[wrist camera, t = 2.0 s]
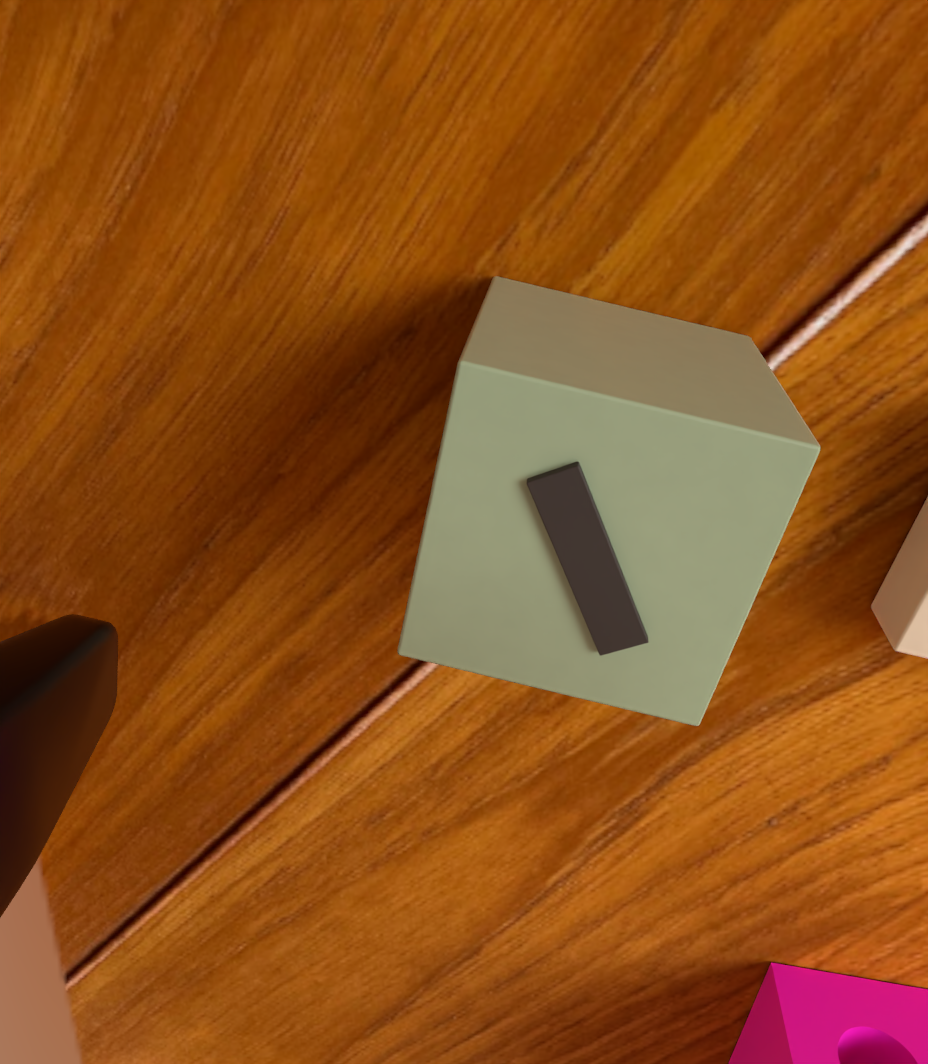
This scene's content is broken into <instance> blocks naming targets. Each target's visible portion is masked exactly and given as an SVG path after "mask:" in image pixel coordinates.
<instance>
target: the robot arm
mask: <svg viewBox="0 0 928 1064" xmlns="http://www.w3.org/2000/svg"><path fill="white" fill-rule="evenodd" d="M117 666H118V635H117V631H116V628H115V627H114V626H113V625H112V624H111V623H109V622H106V621H102V620H98V619H93V618H89V617H85V616H81V615H74V614H71V615H66V616H63V617H60V618H58V619H55V620H53V621H50V622H48V623H46V624H43V625H41V626H38V627H36V628H33V629H31V630H28V631H26V632H24V633H21V634H19V635H16V636H14V637H11V638H9V639H6V640H4V641H1V642H0V917H1V916H2V914H3V913H4V911H5V910H6V908H7V907H8V905H9V903H10V902H11V901H12V899H13V898H14V896H15V894H16V893H17V892H18V890H19V888H20V887H21V885H22V884H23V882H24V880H25V879H26V877H27V876H28V874H29V872H30V871H31V869H32V868H33V866H34V864H35V863H36V861H37V859H38V857H39V855H40V853H41V852H42V850H43V848H44V846H45V844H46V842H47V840H48V839H49V837H50V835H51V833H52V831H53V829H54V827H55V825H56V823H57V821H58V819H59V817H60V815H61V813H62V811H63V809H64V807H65V805H66V803H67V801H68V800H69V798H70V796H71V794H72V792H73V790H74V788H75V786H76V784H77V782H78V780H79V778H80V776H81V774H82V772H83V770H84V768H85V766H86V764H87V762H88V760H89V758H90V757H91V755H92V753H93V751H94V749H95V747H96V745H97V743H98V741H99V739H100V737H101V735H102V733H103V731H104V729H105V727H106V725H107V723H108V721H109V719H110V717H111V715H112V712H113V709H114V706H115V702H116V696H117Z"/></svg>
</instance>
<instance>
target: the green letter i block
mask: <svg viewBox="0 0 928 1064" xmlns="http://www.w3.org/2000/svg"><path fill="white" fill-rule="evenodd" d="M819 452H820V445H819V443H818V442H817V440H816V439H815V437H814V436H813V434H812V432H811V431H810V429H809V428H808V426H807V425H806V423H805V422H804V420H803V418H802V417H801V415H800V414H799V412H798V411H797V409H796V408H795V406H794V404H793V403H792V401H791V400H790V398H789V397H788V395H787V394H786V392H785V391H784V389H783V387H782V386H781V384H780V383H779V381H778V380H777V378H776V377H775V375H774V373H773V372H772V370H771V369H770V367H769V366H768V364H767V363H766V361H765V359H764V358H763V356H762V355H761V353H760V352H759V350H758V349H757V347H756V345H755V344H754V342H753V341H752V339H751V338H750V337H749V336H746V335H742V334H737V333H733V332H729V331H725V330H721V329H716V328H712V327H708V326H704V325H699V324H695V323H691V322H687V321H683V320H678V319H674V318H670V317H666V316H662V315H657V314H653V313H649V312H645V311H641V310H636V309H632V308H628V307H624V306H620V305H615V304H611V303H607V302H603V301H598V300H594V299H590V298H586V297H582V296H577V295H573V294H569V293H565V292H561V291H556V290H552V289H548V288H544V287H540V286H535V285H531V284H527V283H523V282H518V281H514V280H510V279H506V278H502V277H497V276H495V277H493V279H492V281H491V284H490V286H489V289H488V291H487V293H486V296H485V298H484V301H483V303H482V305H481V308H480V310H479V313H478V315H477V318H476V320H475V322H474V325H473V327H472V330H471V332H470V335H469V337H468V339H467V342H466V344H465V347H464V349H463V351H462V354H461V356H460V359H459V361H458V364H457V369H456V373H455V378H454V383H453V388H452V392H451V397H450V402H449V407H448V411H447V416H446V421H445V426H444V431H443V435H442V440H441V445H440V450H439V454H438V459H437V464H436V469H435V473H434V478H433V483H432V488H431V493H430V497H429V502H428V507H427V512H426V516H425V521H424V526H423V531H422V535H421V540H420V545H419V550H418V554H417V559H416V564H415V569H414V574H413V578H412V583H411V588H410V593H409V597H408V602H407V607H406V612H405V616H404V621H403V626H402V631H401V636H400V640H399V645H398V650H397V651H398V654H399V655H402V656H406V657H410V658H414V659H418V660H423V661H427V662H431V663H435V664H439V665H443V666H448V667H452V668H456V669H460V670H464V671H468V672H473V673H477V674H481V675H485V676H489V677H493V678H498V679H502V680H506V681H510V682H514V683H518V684H523V685H527V686H531V687H535V688H539V689H543V690H548V691H552V692H556V693H560V694H564V695H568V696H573V697H577V698H581V699H585V700H589V701H594V702H598V703H602V704H606V705H610V706H614V707H619V708H623V709H627V710H631V711H635V712H639V713H644V714H648V715H652V716H656V717H660V718H664V719H669V720H673V721H677V722H681V723H685V724H689V725H694V726H698V725H699V724H700V722H701V720H702V718H703V716H704V713H705V711H706V709H707V706H708V704H709V702H710V700H711V697H712V695H713V693H714V691H715V688H716V686H717V684H718V681H719V679H720V677H721V675H722V672H723V670H724V668H725V666H726V663H727V661H728V659H729V656H730V654H731V652H732V650H733V647H734V645H735V643H736V641H737V638H738V636H739V634H740V631H741V629H742V627H743V625H744V622H745V620H746V618H747V616H748V613H749V611H750V609H751V606H752V604H753V602H754V600H755V597H756V595H757V593H758V591H759V588H760V586H761V584H762V581H763V579H764V577H765V575H766V572H767V570H768V568H769V566H770V563H771V561H772V559H773V556H774V554H775V552H776V550H777V547H778V545H779V543H780V541H781V538H782V536H783V534H784V531H785V529H786V527H787V525H788V522H789V520H790V518H791V516H792V513H793V511H794V509H795V506H796V504H797V502H798V500H799V497H800V495H801V493H802V491H803V488H804V486H805V484H806V482H807V479H808V477H809V475H810V472H811V470H812V468H813V466H814V463H815V461H816V459H817V457H818V454H819Z"/></svg>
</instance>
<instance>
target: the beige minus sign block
mask: <svg viewBox="0 0 928 1064" xmlns="http://www.w3.org/2000/svg"><path fill="white" fill-rule="evenodd" d="M871 609H872V611H873V613H874V614H875V616H876V618H877V620H878V622H879V624H880V625H881V627H882V629H883V631H884V633H885V635H886V636H887V638H888V640H889V642H890V644H891V646H892V647H893V649H894V650H895V651H897V652H902V653H906V654H910V655H914V656H918V657H923V658H927V659H928V497H927V499H926V501H925V502H924V504H923V506H922V508H921V510H920V512H919V514H918V516H917V518H916V520H915V522H914V524H913V526H912V528H911V529H910V531H909V533H908V535H907V537H906V539H905V541H904V543H903V545H902V547H901V549H900V551H899V553H898V554H897V556H896V558H895V560H894V562H893V564H892V566H891V568H890V570H889V572H888V574H887V576H886V578H885V579H884V581H883V583H882V585H881V587H880V589H879V591H878V593H877V595H876V597H875V599H874V601H873V603H872V605H871Z"/></svg>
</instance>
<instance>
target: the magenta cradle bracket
mask: <svg viewBox="0 0 928 1064" xmlns="http://www.w3.org/2000/svg"><path fill="white" fill-rule="evenodd" d="M728 1064H928V989H922V988H916V987H910V986H905V985H899V984H893V983H887V982H881V981H876V980H870V979H864V978H858V977H852V976H847V975H841V974H835V973H829V972H823V971H818V970H812V969H806V968H800V967H794V966H789V965H783V964H777V963H771V964H770V966H769V969H768V971H767V973H766V976H765V978H764V981H763V983H762V985H761V988H760V990H759V992H758V995H757V997H756V999H755V1002H754V1004H753V1006H752V1009H751V1011H750V1014H749V1016H748V1018H747V1021H746V1023H745V1025H744V1028H743V1030H742V1032H741V1035H740V1037H739V1039H738V1042H737V1044H736V1046H735V1049H734V1051H733V1054H732V1056H731V1058H730V1061H729V1063H728Z"/></svg>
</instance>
